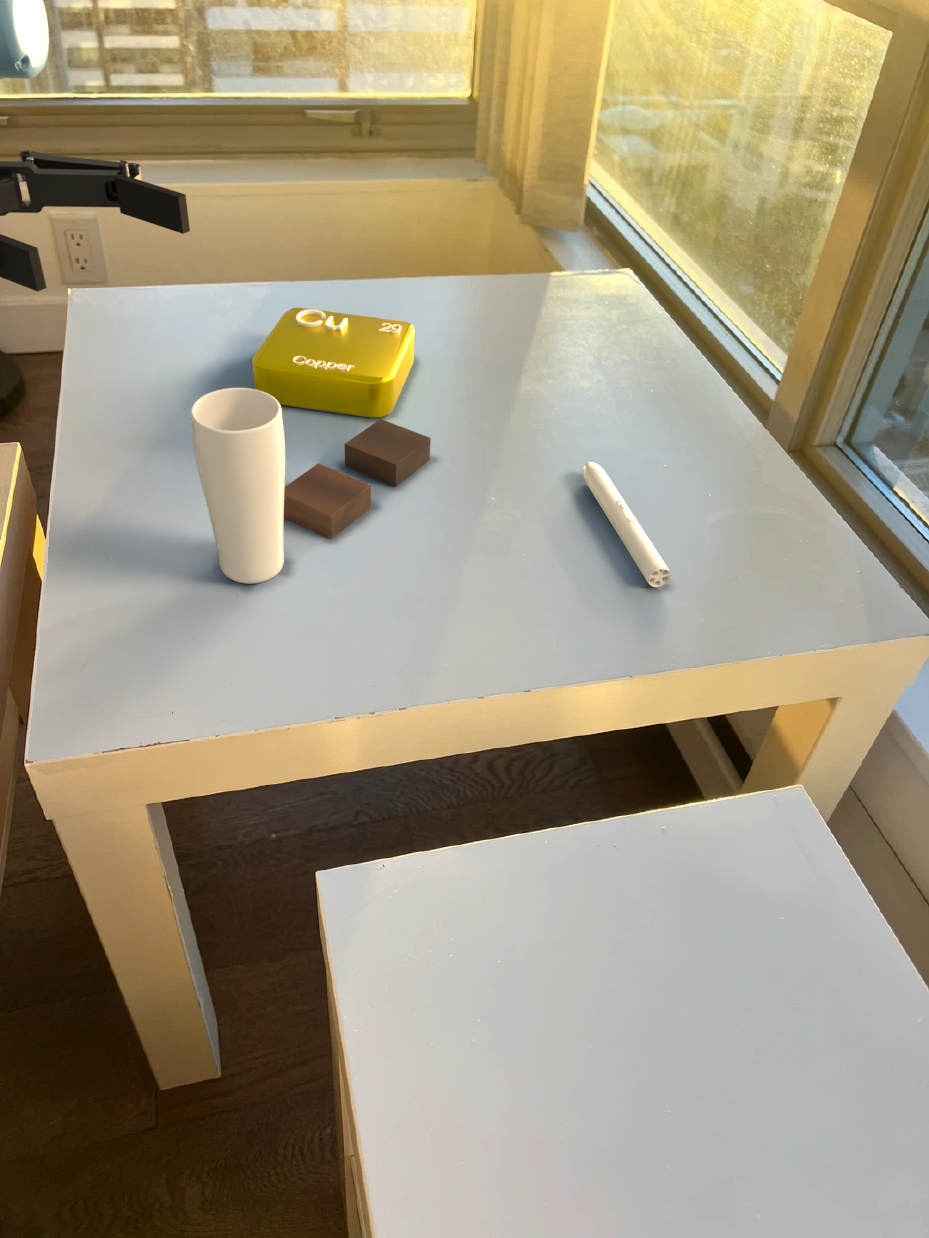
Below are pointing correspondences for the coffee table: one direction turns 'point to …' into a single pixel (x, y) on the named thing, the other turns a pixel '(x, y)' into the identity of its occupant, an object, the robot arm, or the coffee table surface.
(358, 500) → the walnut block near
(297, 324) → the element tile
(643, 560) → the marker
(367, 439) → the walnut block far
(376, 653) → the coffee table surface
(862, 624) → the coffee table surface
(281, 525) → the drinking glass
